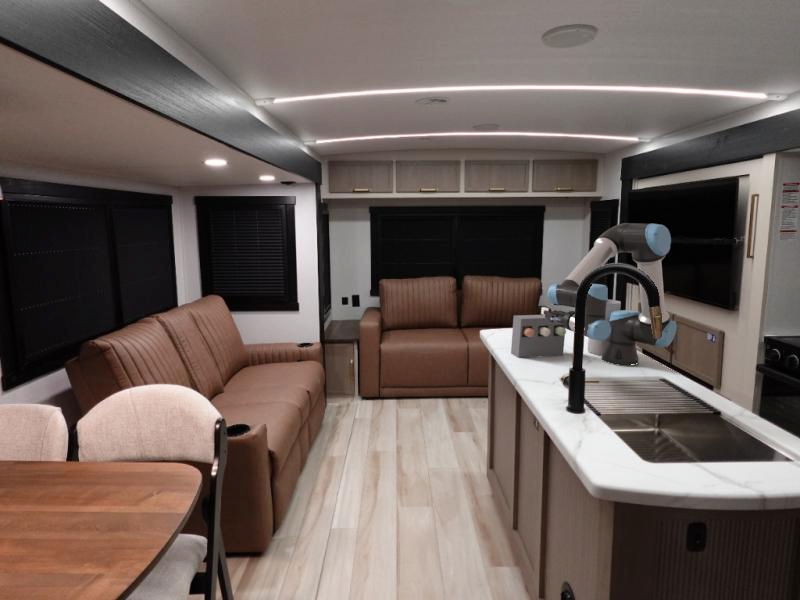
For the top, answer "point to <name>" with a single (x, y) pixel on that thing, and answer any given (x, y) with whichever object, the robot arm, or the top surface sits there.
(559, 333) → the sage button
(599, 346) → the cylinder vase
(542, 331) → the cream button
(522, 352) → the console
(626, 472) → the top surface
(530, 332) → the terracotta button
